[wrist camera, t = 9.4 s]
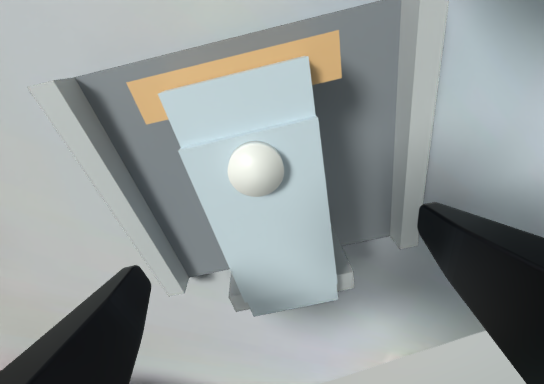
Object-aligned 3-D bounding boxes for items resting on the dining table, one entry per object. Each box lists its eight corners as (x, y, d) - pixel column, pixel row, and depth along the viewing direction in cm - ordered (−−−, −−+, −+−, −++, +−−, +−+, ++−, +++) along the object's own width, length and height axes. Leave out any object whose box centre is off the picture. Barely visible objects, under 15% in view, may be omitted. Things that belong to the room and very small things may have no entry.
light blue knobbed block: (317, 238, 15) (343, 313, 11) (253, 252, 15) (253, 331, 11) (287, 54, 10) (314, 56, 6) (192, 78, 10) (147, 98, 6)
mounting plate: (399, 224, 16) (444, 278, 12) (177, 270, 16) (155, 335, 13) (416, -8, 10) (517, -44, 6) (64, 81, 10) (-41, 97, 7)
